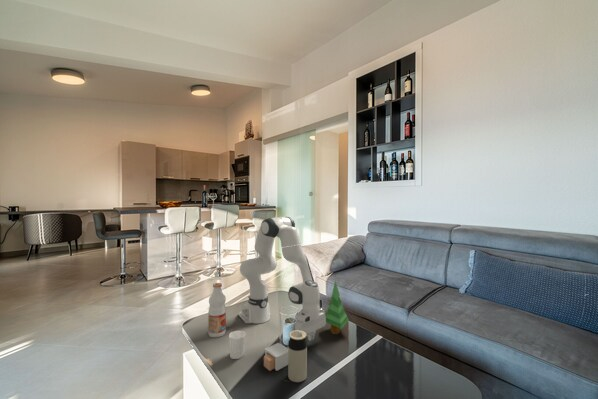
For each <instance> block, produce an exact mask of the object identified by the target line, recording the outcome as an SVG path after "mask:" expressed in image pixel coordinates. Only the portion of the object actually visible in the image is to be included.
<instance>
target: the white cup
mask: <svg viewBox="0 0 598 399" xmlns="http://www.w3.org/2000/svg"><path fill="white" fill-rule="evenodd" d="M228 346H229V356H230V357H229V358H231V359H233V360H238V359H241V358H243V357H244V356H245V348H246V332H245V331H243V330H234V331H231V332H230V333H229V334H228Z"/></svg>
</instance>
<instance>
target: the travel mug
mask: <svg viewBox="0 0 598 399" xmlns="http://www.w3.org/2000/svg"><path fill="white" fill-rule="evenodd" d="M288 336H289V340H288V345H287V347H288V365H287V367H288V368H287V370H288V372H287V376H288V379H289V380H290V381H291V382H293V383H301V382H304V381H305V380H306V379H307V374H308V366H307V365H308V360H307V359H308V341H307V339H306V338H307V335H306V333H305V332H304V331H301V330H295V329H294V330H292V331H290V332H289V333H288Z"/></svg>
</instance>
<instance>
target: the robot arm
mask: <svg viewBox="0 0 598 399" xmlns="http://www.w3.org/2000/svg"><path fill="white" fill-rule="evenodd" d="M276 237H277V238H278V239H279V240H280V247H281V253H282V256H283V258H284V259H285V260H286V261H287V262H289V263H292V264H295V265H297V266H298V268H299V270H300V271H299V272H300V273H301V274H300V275H301V278H302V282H301V283H297V284H295V285H292V286H290V287H289V289H288V299H289V300H290V302H291V303H292V304H294V305H302V309H301V310H300V311H299V312H298V313H296V314H295V316H294V318H295V322H294V331H295V330H301V331H304V332H305V333H306V337H307V340H308V341H309V342H311V341H313V340H315V334H316V332H317V331H318V330H320V329H321V328H323V327H326V324H327V323H326V317H325V315H326V312H325V309H323V308H320V299H321V298H320V288H319V284H318V282H316V281H315V279H314V277H313V273H312V271H311V270H312V269H311V266H310V263H309V260H308V258H307V256H306V254H305V253H304V251H303V248H302V245H301V239H300V236H299V233H298V229H297V228H296V222H295V220H294V219H293V218H292V217H290V216H275V217H271V218H270V217H268V218H265V219H263V220H262V221H261V224H260V227H259V230H258V231H257V235H256V238H255V239H256V240H255V244H254V251H255V253H257V254H258V257H254V258H249V259H246V260H244V261H242V262H241V264H240V266H239V271H240V274H241V275H242V276H243V277H244V278H245V279H246V280H247V281H248V284H249V296H247V298H248V301H247V302H246V303H244V304H243V306H242V308H241V310H242V311H240V312H239V313H238V317H239V318H241V319H242V321H243V322H244V323H245V324H255V325H256V324H263V323H266V322H268V321H269V320H270V317H271V315H272V313H271V312H270V304H269V295H268V283H267V282H266V281H265V280H263V279H262V275H265V274H270V273H271V272H273V271H275V270H276V269H277V266H278V265H277V260H276V258H275V257H274V256H273V246H274V243H275V239H276Z"/></svg>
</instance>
